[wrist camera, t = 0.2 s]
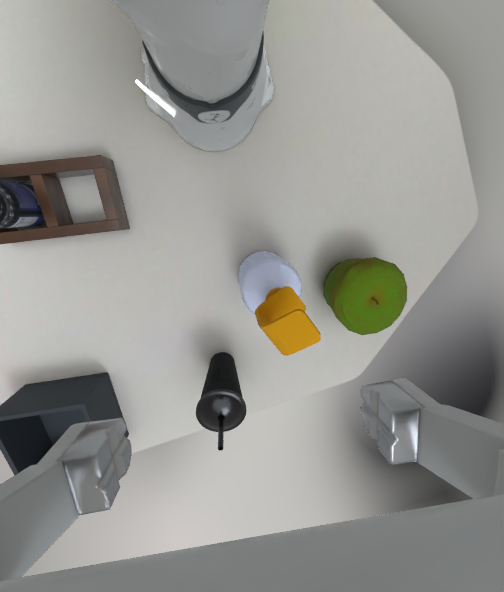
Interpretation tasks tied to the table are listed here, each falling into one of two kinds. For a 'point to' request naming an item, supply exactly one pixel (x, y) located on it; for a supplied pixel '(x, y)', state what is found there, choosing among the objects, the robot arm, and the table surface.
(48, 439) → the open square box
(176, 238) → the table surface
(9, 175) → the brown wooden caddy
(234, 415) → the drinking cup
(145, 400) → the table surface
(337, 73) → the table surface
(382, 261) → the apple
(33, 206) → the pill bottle
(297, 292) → the soap bottle
